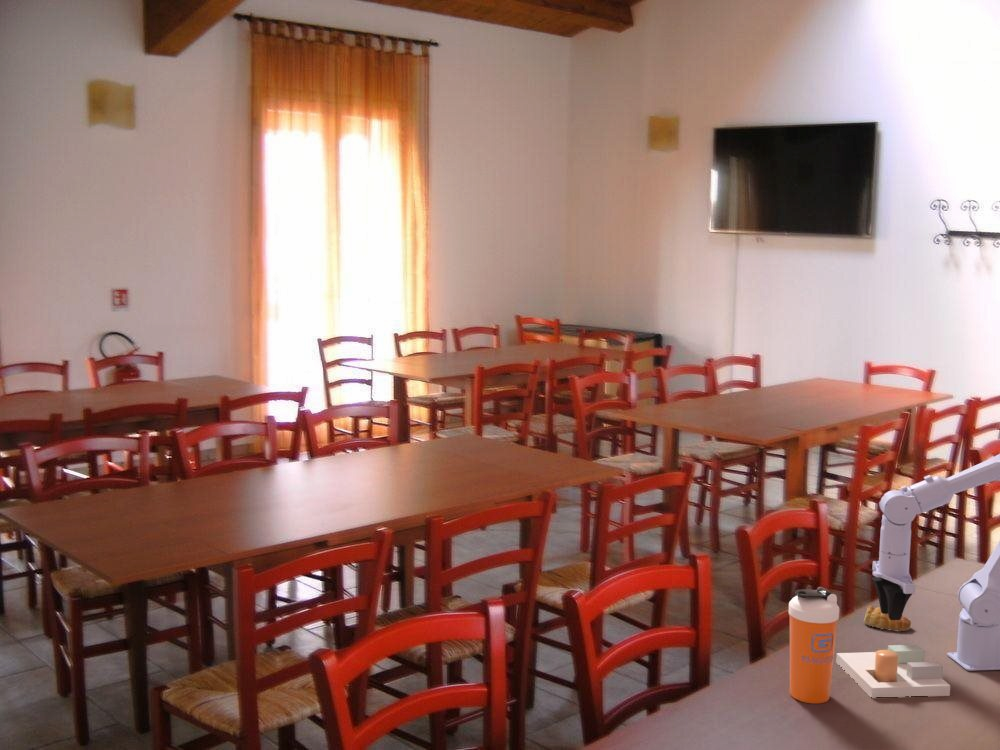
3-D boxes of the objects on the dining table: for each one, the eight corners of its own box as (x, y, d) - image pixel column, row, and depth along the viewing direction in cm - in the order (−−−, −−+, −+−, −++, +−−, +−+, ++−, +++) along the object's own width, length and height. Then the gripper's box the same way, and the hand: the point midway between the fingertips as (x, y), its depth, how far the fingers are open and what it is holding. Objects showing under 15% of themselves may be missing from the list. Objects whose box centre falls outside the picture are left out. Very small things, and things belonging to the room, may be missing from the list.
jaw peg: (890, 679, 197) (892, 649, 197) (900, 688, 193) (902, 658, 193) (870, 679, 197) (872, 649, 196) (879, 688, 193) (881, 658, 192)
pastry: (912, 625, 226) (913, 609, 226) (907, 636, 220) (908, 619, 220) (868, 617, 231) (869, 601, 230) (861, 627, 225) (862, 610, 225)
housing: (908, 660, 207) (909, 639, 206) (949, 695, 191) (951, 672, 191) (836, 662, 206) (837, 641, 205) (871, 698, 190) (872, 675, 189)
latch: (916, 656, 204) (917, 644, 203) (923, 662, 201) (924, 650, 200) (887, 657, 203) (887, 645, 203) (894, 663, 200) (894, 651, 200)
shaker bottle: (774, 689, 193) (779, 586, 190) (812, 681, 197) (817, 580, 194) (806, 709, 185) (811, 602, 182) (845, 701, 189) (851, 596, 186)
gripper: (859, 540, 213) (856, 603, 215) (892, 562, 199) (888, 630, 201) (892, 540, 214) (888, 603, 215) (927, 562, 199) (922, 629, 201)
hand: (890, 616), depth 208 cm, fingers open, 3 cm apart
